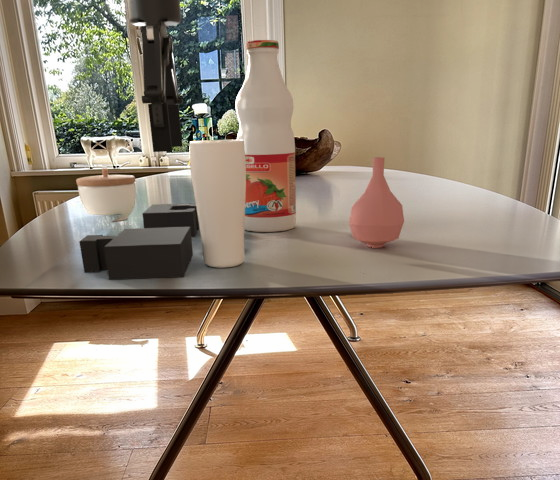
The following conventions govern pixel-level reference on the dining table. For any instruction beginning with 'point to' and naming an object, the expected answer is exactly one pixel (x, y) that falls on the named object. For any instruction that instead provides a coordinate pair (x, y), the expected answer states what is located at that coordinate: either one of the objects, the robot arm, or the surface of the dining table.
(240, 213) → the drinking glass
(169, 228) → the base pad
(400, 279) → the dining table surface
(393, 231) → the pink teardrop shaped piece
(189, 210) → the dark grey block
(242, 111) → the fruit juice
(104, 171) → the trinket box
